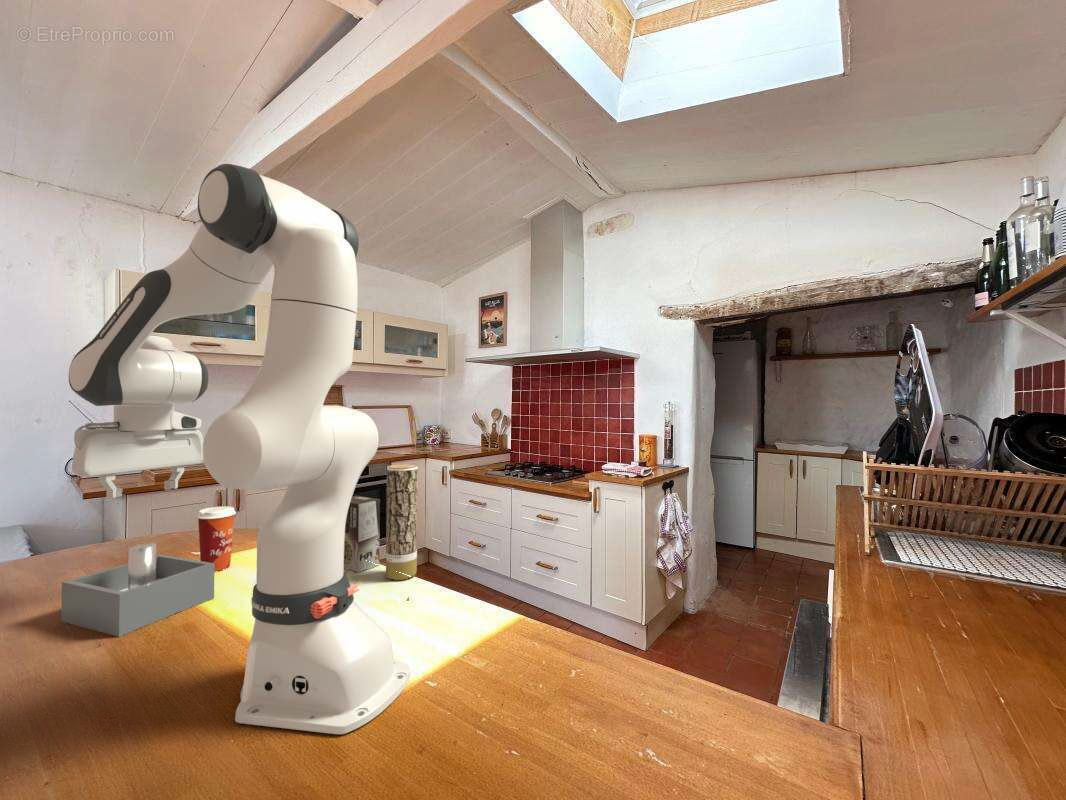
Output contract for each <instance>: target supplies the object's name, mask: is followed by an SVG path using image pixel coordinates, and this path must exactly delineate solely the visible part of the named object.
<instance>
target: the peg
mask: <svg viewBox="0 0 1066 800" xmlns="http://www.w3.org/2000/svg"><path fill="white" fill-rule="evenodd" d="M156 556H157V542H144V543H137V544H134V545H131V546H129V547H128V557H127V558H128V563H127V564H128V590H130V589H133V588H136V587H139V586H142V585H145V584H148V583H151V582H154V581H156Z"/></svg>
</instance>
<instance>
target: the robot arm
mask: <svg viewBox="0 0 1066 800" xmlns="http://www.w3.org/2000/svg"><path fill="white" fill-rule="evenodd" d="M197 212H198V216H199V219H200V221H201V224H200V226H199V228H198V229H197V231H196V233H195V234H194V237H193V239H192V240H191V242H190V244H189V246H188V247H187V249H186V251H184V252H183V254H182V255H181V256H180V257H178V258H177V259H176V260H174V261H173V262H171V263H170V264H168V265H167V266H165V267H163V268H161V269H157V270H156V269H155V270H152V271H150V272H148V273H146V274H145V275H144V276H143V277H141V279H140V280H139V281H138V282H137V283H136V284H135V285H134V286H133V287H132V289H130V292H128V294H127V295H126V296H125V298H124V299H123V300H122V302H121V303H120V304H119V306H118V307H117V308H116V309H115V311H114V312H113V313H112V314H111V316H110V317H109V318H108V320H107V321H106V322H105V324H104V325H103V327H102V328H100V330H99V332H98V333H97V334H96V335H95V336H94V338H92V340H90V341H89V342H88V343H87V344H86V345H84V346H83V347H82V348H81V349H80V350H79V351H78V352H77V353H76V354H75V355H74V356H73V358H72V360H71V363H70V364H69V369H68V370H69V371H68V384H69V387H70V389H71V390H72V391H73V392H74V393H75V394H77V395H78V396H79V397H80V398H82V399H83V400H85V401H86V402H88V403H90V404H92V405H94V406H96V407H104V406H106V407H107V406H113V421H106V422H86V423H85V424H84V425H81V426H79V427H78V428H77V429H76V430H75V431H74V440H73V443H74V445H75V447H74V451H73V456H72V462H71V472H73V474H75V475H76V476H77V477H83V478H84V477H85V478H88V477H98V482H99V483H100V484H101V486H102V487H103V488H104V489H105V490H106V497H105V498H106V499H107V500H110V501H111V500H116V499H121V498H123V494H122V493H123V488H121V487H116V484H114V482H113V481H115V480H116V474H123V473H133V472H140V471H141V472H142V471H149V470H158V469H166V468H167V469H168V468H169V471H170V472H172V473H171V475H170V476H169V478H168V479H167V480H163V485H164V486H163V488H164V490H165V491H171V490H173V491H174V490H177V489H178V487H179V480H180V479H181V477H182V476H183V474H184V472H185V466H193V465H199V464H201V463H202V461H203V463H204V465H205V467H206V470H207V472H208V473H209V475H210V476H211V477H212V479H214V481H216V482H217V483H218V484H219V485H221V486H222V487H224V488H226V489H227V488H228V489H230V490H246V491H247V490H251V491H253V490H254V491H256V490H257V491H258V490H259V491H261V490H262V491H263V490H264V491H267V490H272V489H273V490H274V489H279V488H284V487H286V489H285V492H284V494H283V497H282V499H281V500H280V503H279V504H278V505H277V507H276V509H275V510H274V511H273V512H272V513H270V514H269V515H268V516H267V517H266V519H265V520H264V521H263V522H262V523H261V525H260V527H259V530H258V533H257V537H256V539H257V541H256V583H255V585H253V587H252V596H251V601H250V602H251V614H252V617H253V618H254V625H253V630H252V634H251V637H250V640H249V645H248V646H247V647H248V648H247V655H246V661H245V662H246V663H245V669H244V671H245V672H244V676H243V677H244V679H243V684H242V687H241V690H240V695H239V696H240V702H239V703H238V705H237V708H236V710H235V714H234V715H235V717H234V722H235V723H238V724H245V725H253V726H263V727H269V728H279V729H280V728H281V729H288V730H296V731H297V730H298V731H305V732H315V733H320V734H321V733H323V734H332V735H346V734H348V733H350V732H352V731H354V730H358V728H361V727H362V726H364V725H365V724H368V723H369V722H370V721H372V720H373V719H374V718H376V717H377V716H378V715H380V714H381V713H382V712H383V711H385V710H386V709H387V708H388V707H389V706H390V705H391V704H392V703H393V702H394V701H395V700H396V699H398V697H399V696H400V694H401V693H402V692H403V691H404V689H405V688H406V687H407V685H408V682H409V680H410V675H411V671H410V666H409V665H408V664H406V663H404V662H402V661H400V660H398V659H395V658H394V654H393V647H392V641H391V638H390V635H389V634H388V633H387V631H385V629H383V628H382V627H381V626H380V625H379V622H377V621H376V620H374V619H373V618H372V617H370V616H369V615H368V614H367V613H366V612H365V611H364V610H363V609H362V608H361V607H360V606H359V605H358V604H357V603H356V602H355V600H354V599H355V598H354V594H355V593H357V592H359V591H360V588H358V586H360V582H356V583H355V584H353V585H352V586H351V583H350V581H349V579H348V575H347V573H346V571H345V570H344V569H345V568H344V541H345V524H346V518H347V513H348V509H349V505H350V502H351V498H352V496H353V495H354V492H355V489H356V486H357V484H358V482H359V480H360V477H361V475H362V473H363V472H364V470H365V469H366V466H367V465H368V464H369V463H370V461H372V459H373V458H374V457H375V456H376V452H377V451H378V449H379V448H378V447H379V442H380V439H379V431H378V428H377V425H376V423H375V421H374V419H372V418H371V417H370V416H369V415H368V414H367V413H365V412H363V411H361V410H358V409H354V408H351V407H347V406H343V405H328V404H327V405H324V403H325V400H326V397H327V395H328V393H329V392H330V390H331V388H332V386H333V385H334V383H335V382H336V381H337V380H338V379H340V378H341V377H342V376H344V375H345V374H347V372H348V371H349V370H350V369H351V367H352V364H353V359H354V348H355V347H354V346H355V339H356V338H355V337H356V326H357V319H358V318H357V317H358V303H359V302H358V300H359V297H358V296H359V294H358V293H359V289H358V288H359V287H358V286H359V285H358V284H359V283H358V282H359V280H358V267H357V259H356V258H357V255H358V251H359V245H360V243H359V233H358V231H357V229H356V227H355V225H354V224H353V223H352V222H351V220H349V219H348V218H347V217H346V216H345V215H343V214H342V213H340V212H339V211H337V210H335V209H333V208H329V207H328V206H326V205H324V204H322V203H321V202H319V201H317V200H315V199H314V198H312V197H310V196H309V195H307V194H305V193H303V192H302V191H300V190H299V189H297V188H294V187H292V186H290V185H288V184H286V183H283V182H281V181H279V180H276V179H273V178H271V177H267V176H264V175H263V174H259V172H257V171H256V170H254V169H251V168H250V167H249V168H248V167H245V166H242V165H237V164H232V163H222V164H219V165H217V166H216V167H214V168H212V169H211V170H209V172H208V173H207V174H206V175H205V176H204V178H203V180H202V182H201V184H200V188H199V192H198V196H197ZM272 268H274V271H273V272H274V274H273V281H272V282H273V283H272V288H271V297H270V304H269V305H270V306H269V316H268V318H269V319H268V326H267V333H266V339H265V340H266V341H265V348H264V353H263V357H262V360H261V364H260V366H259V369H258V371H257V373H256V375H255V377H254V379H253V380H252V382H251V384H250V385H249V387H248V389H247V390H246V392H245V393H244V394H243V395H242V396H241V398H240V399H239V400H238V401H237V402H236V403H235V404H234V405H233V406H232V407H230V408H229V409H227V410H226V411H225V412H224V413H222V414H220V415H218V416H217V418H215V419H214V421H213V422H212V423H211V424H210V426H209V427H208V428H207V431H206V433H205V435H204V436H203V433H202V432H201V431H200V430H199V429H201V427H202V419H201V418H198V417H196V416H195V417H194V416H191V415H188V414H185V413H182V412H178V411H175V404H176V405H177V404H178V405H179V404H188V403H193V402H195V401H197V400H198V399H200V398H201V397H202V396H203V395H204V394H205V392H206V391H207V390H208V386H209V370H208V368H207V366H206V364H205V363H204V361H202V359H200V357H199V356H197V355H196V354H193V353H192V354H191V353H188V352H186V351H182V350H180V349H179V348H176V347H174V345H173V342H172V341H171V340H170V339H168V338H167V337H163V336H160V335H157V334H153V332H154V331H155V329H156V328H157V327H159V326H160V325H162V324H164V323H167V322H169V321H172V320H175V319H179V318H180V319H181V318H187V317H192V316H202V315H203V316H204V315H220V314H221V315H222V314H226V313H227V314H228V313H232V312H236V311H239V310H241V309H243V308H245V307H246V306H248V305H249V304H251V302H252V301H253V300H254V299H255V298H256V297H257V295H258V294H259V292H260V291H261V289H262V287H263V286H264V283H265V281H266V279H267V277H268V276H269V273H270V272H271V269H272Z"/></svg>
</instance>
